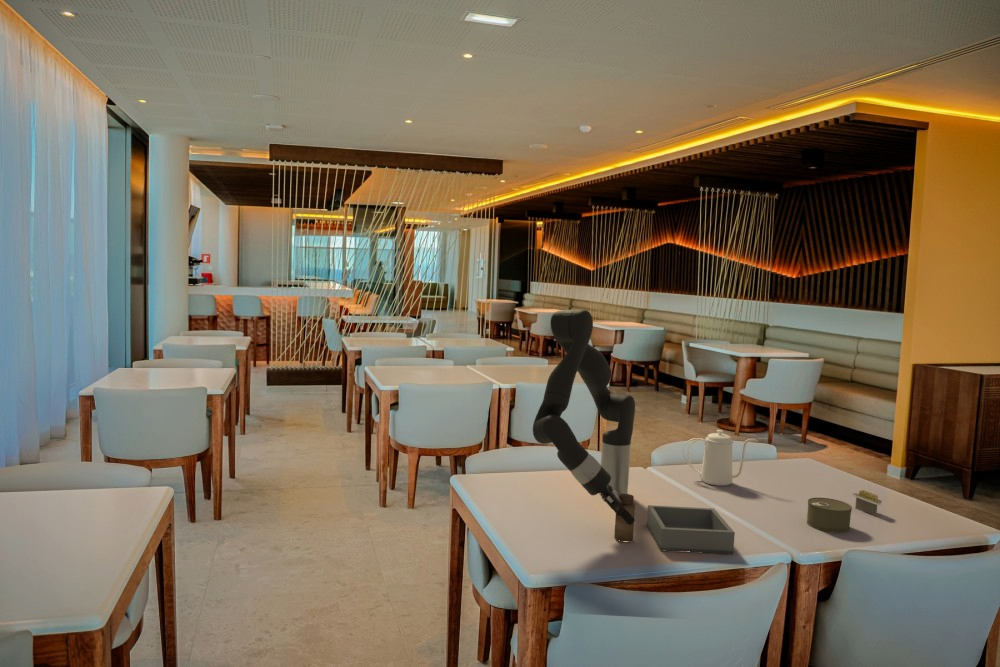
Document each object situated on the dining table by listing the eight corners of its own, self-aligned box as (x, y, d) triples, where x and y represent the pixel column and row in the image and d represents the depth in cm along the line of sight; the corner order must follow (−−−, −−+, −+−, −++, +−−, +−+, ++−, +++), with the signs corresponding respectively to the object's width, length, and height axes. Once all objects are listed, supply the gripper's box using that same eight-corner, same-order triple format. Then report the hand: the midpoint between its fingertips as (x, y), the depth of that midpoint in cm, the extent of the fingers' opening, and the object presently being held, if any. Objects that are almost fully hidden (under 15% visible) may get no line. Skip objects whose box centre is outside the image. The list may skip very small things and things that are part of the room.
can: (859, 533, 210) (861, 510, 210) (821, 533, 208) (823, 510, 208) (833, 519, 222) (835, 497, 221) (797, 519, 220) (799, 497, 219)
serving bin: (646, 525, 208) (647, 505, 208) (712, 528, 208) (714, 508, 207) (660, 551, 189) (662, 528, 189) (733, 554, 189) (734, 532, 188)
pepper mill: (613, 535, 199) (615, 492, 198) (631, 536, 199) (633, 493, 198) (615, 541, 194) (618, 498, 193) (634, 542, 194) (637, 499, 193)
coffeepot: (754, 491, 247) (759, 437, 245) (680, 481, 255) (683, 429, 253) (754, 483, 257) (758, 431, 256) (682, 473, 265) (686, 423, 264)
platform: (858, 503, 241) (860, 483, 240) (906, 521, 224) (908, 500, 223) (831, 505, 236) (832, 486, 236) (877, 524, 220) (879, 503, 219)
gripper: (603, 471, 188) (645, 516, 189) (597, 457, 202) (635, 499, 203) (582, 490, 188) (623, 535, 189) (577, 475, 203) (615, 517, 203)
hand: (629, 517), depth 196 cm, fingers open, 8 cm apart
